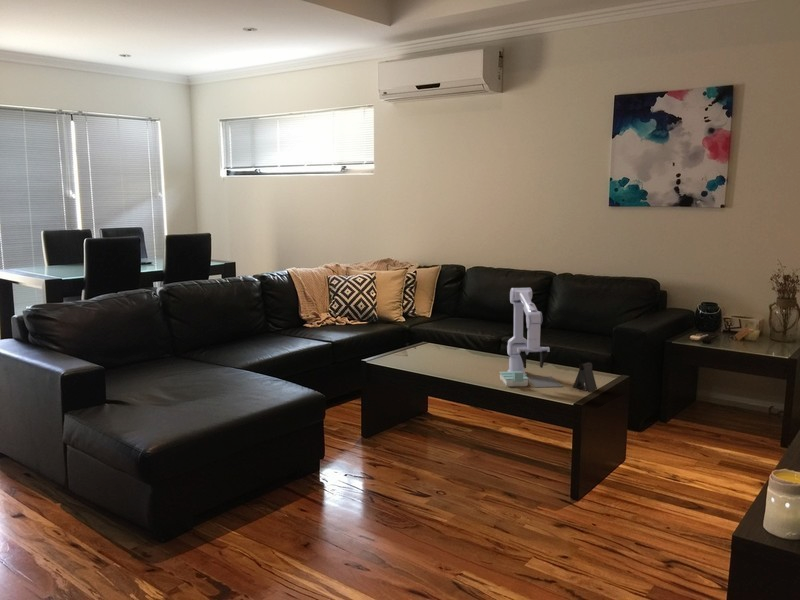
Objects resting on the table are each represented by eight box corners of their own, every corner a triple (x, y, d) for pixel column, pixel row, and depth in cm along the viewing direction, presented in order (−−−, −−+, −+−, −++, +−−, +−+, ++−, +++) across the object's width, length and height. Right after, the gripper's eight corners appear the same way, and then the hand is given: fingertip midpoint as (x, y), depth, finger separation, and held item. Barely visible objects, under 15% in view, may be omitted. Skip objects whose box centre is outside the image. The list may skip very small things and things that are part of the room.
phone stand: (572, 388, 311) (573, 362, 309) (580, 385, 315) (581, 360, 313) (589, 392, 304) (590, 366, 302) (597, 389, 308) (598, 364, 306)
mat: (525, 377, 329) (525, 377, 329) (551, 377, 330) (551, 376, 330) (535, 387, 312) (535, 387, 312) (563, 386, 313) (563, 386, 313)
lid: (499, 372, 326) (499, 364, 326) (520, 372, 327) (521, 363, 326) (507, 382, 310) (507, 373, 309) (530, 381, 310) (530, 372, 310)
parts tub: (500, 379, 326) (500, 372, 326) (520, 378, 327) (520, 372, 327) (506, 386, 314) (506, 379, 313) (527, 386, 314) (527, 379, 314)
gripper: (520, 340, 302) (519, 369, 304) (551, 339, 303) (551, 369, 305) (516, 337, 309) (515, 366, 311) (547, 336, 310) (546, 365, 312)
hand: (532, 367), depth 308 cm, fingers open, 7 cm apart
